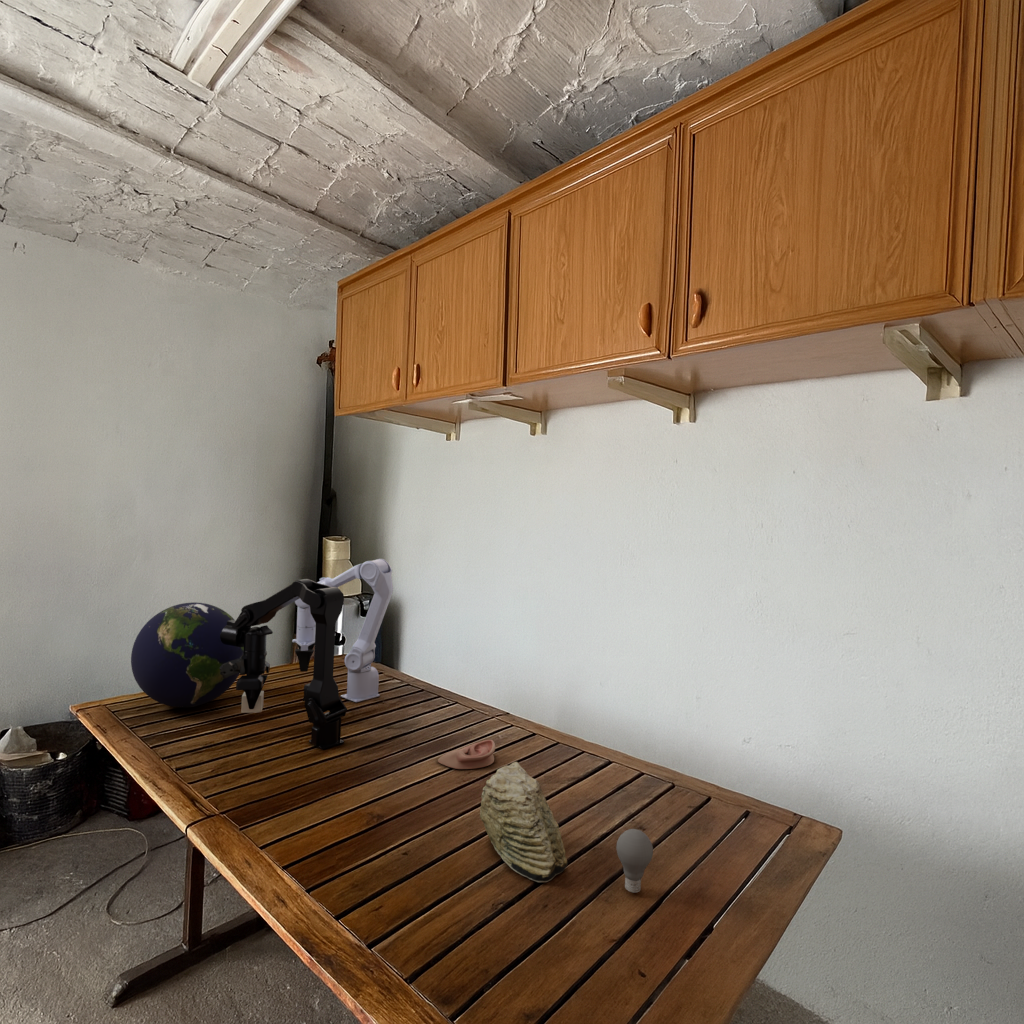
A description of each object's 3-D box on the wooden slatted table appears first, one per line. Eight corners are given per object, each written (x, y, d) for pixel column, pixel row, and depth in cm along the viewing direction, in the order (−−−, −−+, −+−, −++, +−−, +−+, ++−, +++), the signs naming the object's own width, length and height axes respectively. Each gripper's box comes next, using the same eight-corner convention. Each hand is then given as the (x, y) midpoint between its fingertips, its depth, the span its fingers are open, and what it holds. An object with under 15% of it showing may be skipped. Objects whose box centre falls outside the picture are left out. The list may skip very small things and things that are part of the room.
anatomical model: (434, 749, 151) (448, 732, 162) (433, 766, 151) (447, 748, 162) (488, 756, 148) (499, 738, 159) (487, 773, 148) (498, 754, 160)
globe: (211, 683, 207) (214, 592, 206) (264, 704, 189) (267, 604, 189) (110, 705, 182) (113, 601, 182) (160, 731, 165) (164, 616, 164)
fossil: (501, 827, 124) (504, 751, 124) (575, 868, 111) (578, 784, 111) (467, 843, 118) (470, 763, 118) (541, 889, 105) (545, 799, 105)
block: (243, 707, 175) (244, 691, 175) (263, 707, 176) (263, 690, 176) (241, 713, 170) (241, 696, 170) (261, 712, 172) (261, 695, 172)
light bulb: (610, 879, 108) (613, 822, 108) (644, 879, 109) (647, 822, 109) (619, 902, 102) (622, 840, 102) (655, 901, 103) (658, 840, 103)
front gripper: (229, 642, 180) (227, 696, 180) (215, 658, 162) (213, 719, 162) (270, 641, 183) (268, 695, 183) (262, 658, 165) (260, 717, 165)
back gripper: (294, 621, 209) (293, 662, 210) (291, 630, 195) (289, 674, 196) (317, 621, 211) (315, 662, 212) (315, 630, 197) (313, 674, 197)
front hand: (252, 706), depth 173 cm, fingers closed on block, 4 cm apart
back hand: (304, 668), depth 204 cm, fingers open, 7 cm apart
